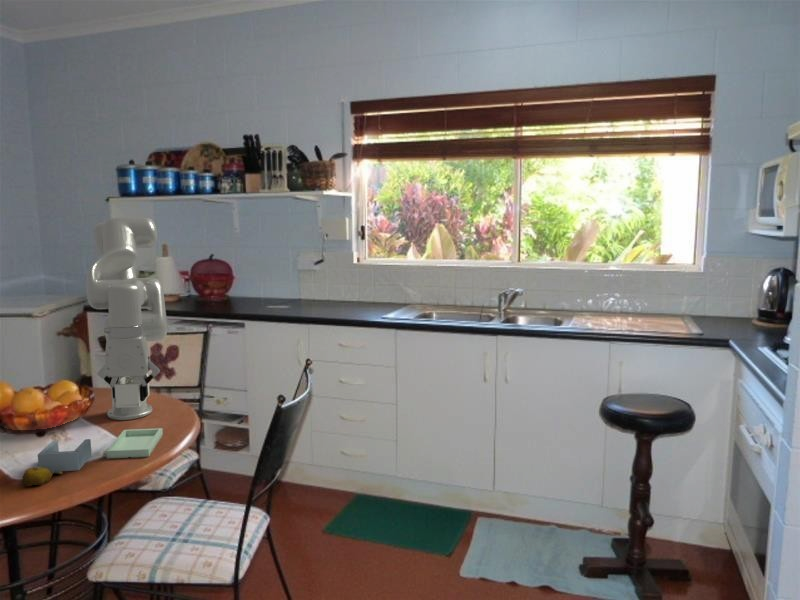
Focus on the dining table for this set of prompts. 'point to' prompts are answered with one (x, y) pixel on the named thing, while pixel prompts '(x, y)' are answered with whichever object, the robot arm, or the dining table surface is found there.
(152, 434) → the tray
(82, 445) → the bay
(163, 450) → the dining table surface
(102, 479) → the dining table surface
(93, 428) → the dining table surface
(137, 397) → the box
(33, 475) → the fruit
